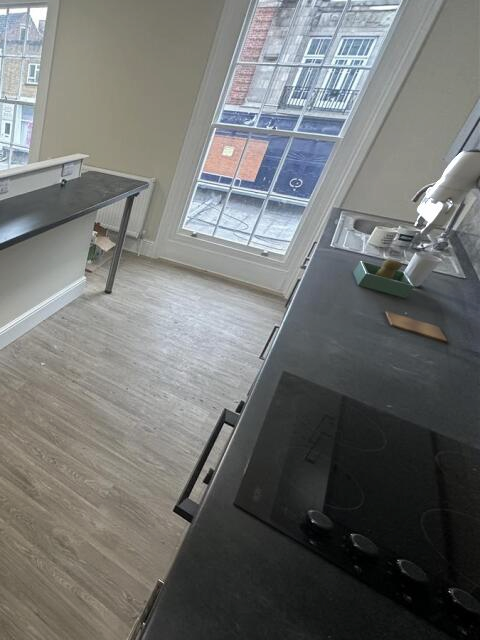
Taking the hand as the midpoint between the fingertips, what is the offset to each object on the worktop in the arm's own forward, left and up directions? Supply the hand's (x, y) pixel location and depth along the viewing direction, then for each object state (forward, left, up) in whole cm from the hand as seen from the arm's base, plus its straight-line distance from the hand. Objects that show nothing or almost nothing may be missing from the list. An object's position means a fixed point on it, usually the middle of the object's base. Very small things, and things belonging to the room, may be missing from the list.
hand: (420, 230), depth 151 cm
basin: (+1, +1, -24) cm, 24 cm away
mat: (-4, +34, -24) cm, 42 cm away
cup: (-11, -12, -24) cm, 29 cm away
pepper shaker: (+1, +1, -24) cm, 24 cm away
